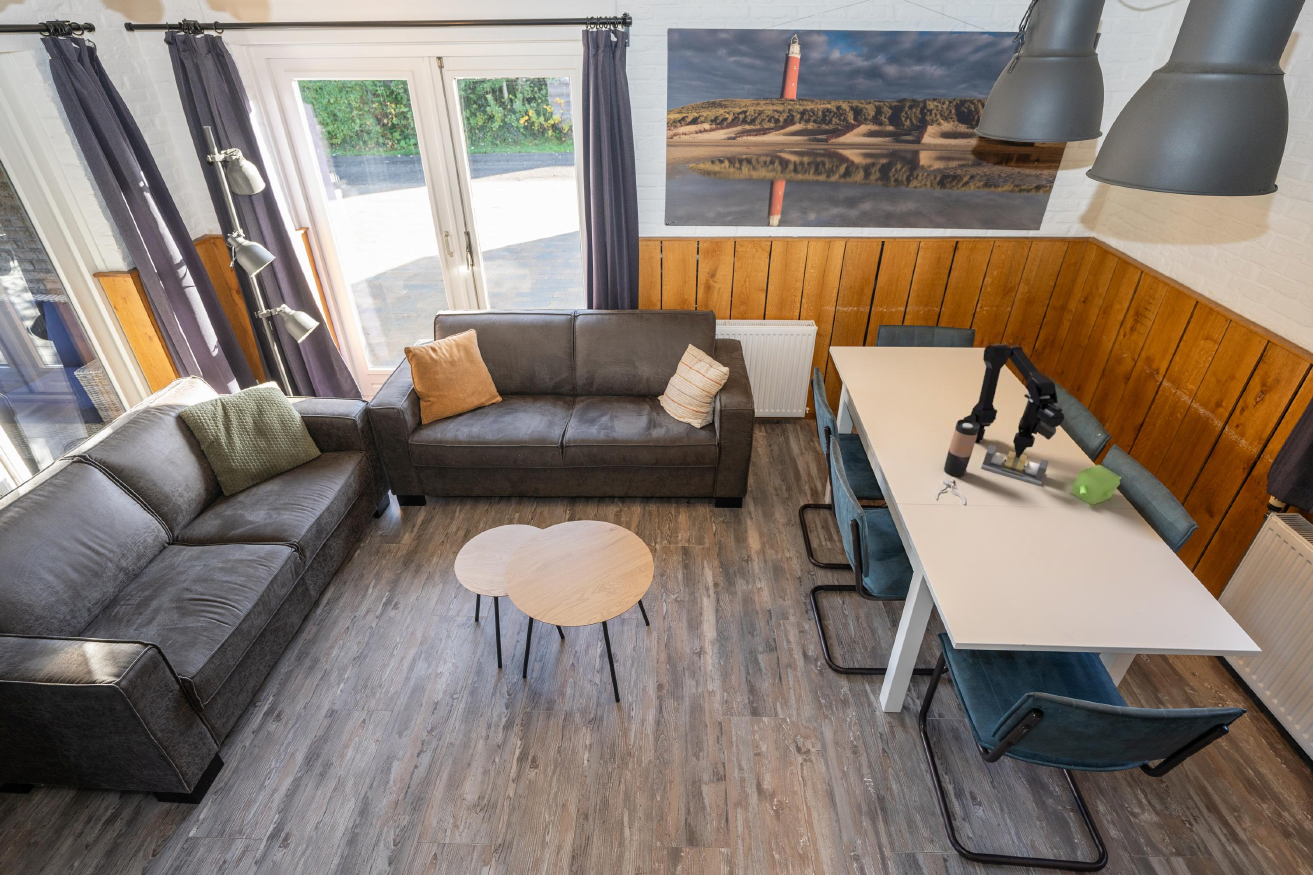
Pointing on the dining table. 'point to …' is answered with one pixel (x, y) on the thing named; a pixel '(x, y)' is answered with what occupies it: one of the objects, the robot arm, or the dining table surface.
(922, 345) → the dining table surface
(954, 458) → the travel mug
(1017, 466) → the banded gold block
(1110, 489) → the green lump
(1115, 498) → the dining table surface
